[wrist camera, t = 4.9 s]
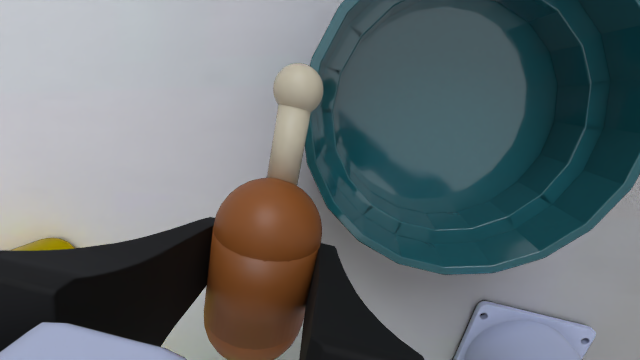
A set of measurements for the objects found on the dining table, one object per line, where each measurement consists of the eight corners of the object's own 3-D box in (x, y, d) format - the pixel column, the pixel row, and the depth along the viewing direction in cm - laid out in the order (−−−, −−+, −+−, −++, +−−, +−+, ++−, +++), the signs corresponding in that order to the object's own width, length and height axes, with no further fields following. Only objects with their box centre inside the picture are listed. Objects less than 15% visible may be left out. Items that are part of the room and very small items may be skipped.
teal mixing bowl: (514, 250, 21) (568, 305, 15) (296, 198, 21) (277, 234, 16) (626, 3, 16) (755, -38, 11) (347, -54, 17) (344, -118, 12)
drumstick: (301, 324, 15) (284, 403, 11) (222, 305, 15) (180, 376, 12) (358, 76, 12) (360, 70, 8) (255, 54, 12) (209, 38, 8)
